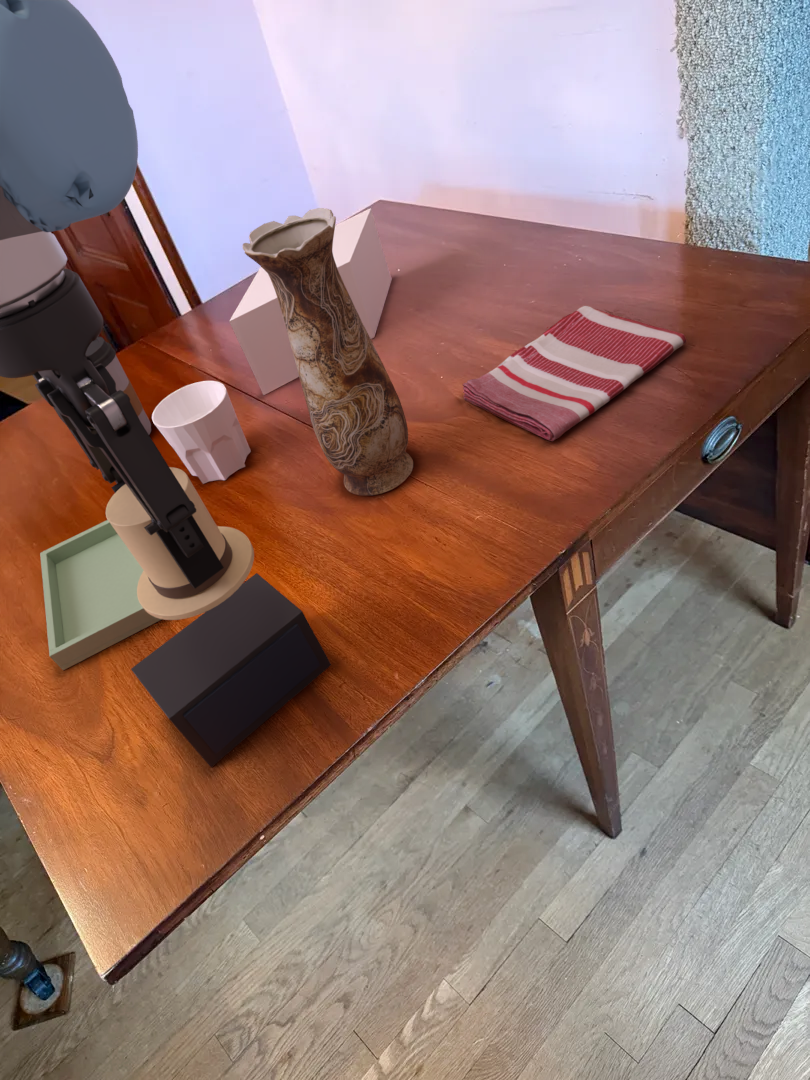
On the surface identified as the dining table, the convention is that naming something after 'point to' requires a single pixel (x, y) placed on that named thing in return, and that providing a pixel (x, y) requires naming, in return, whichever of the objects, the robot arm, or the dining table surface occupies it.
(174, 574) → the hat
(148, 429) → the coffee cup
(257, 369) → the block
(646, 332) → the dish towel
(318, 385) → the vase
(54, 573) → the tray
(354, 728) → the dining table surface
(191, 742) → the black rectangular block
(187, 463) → the cup
